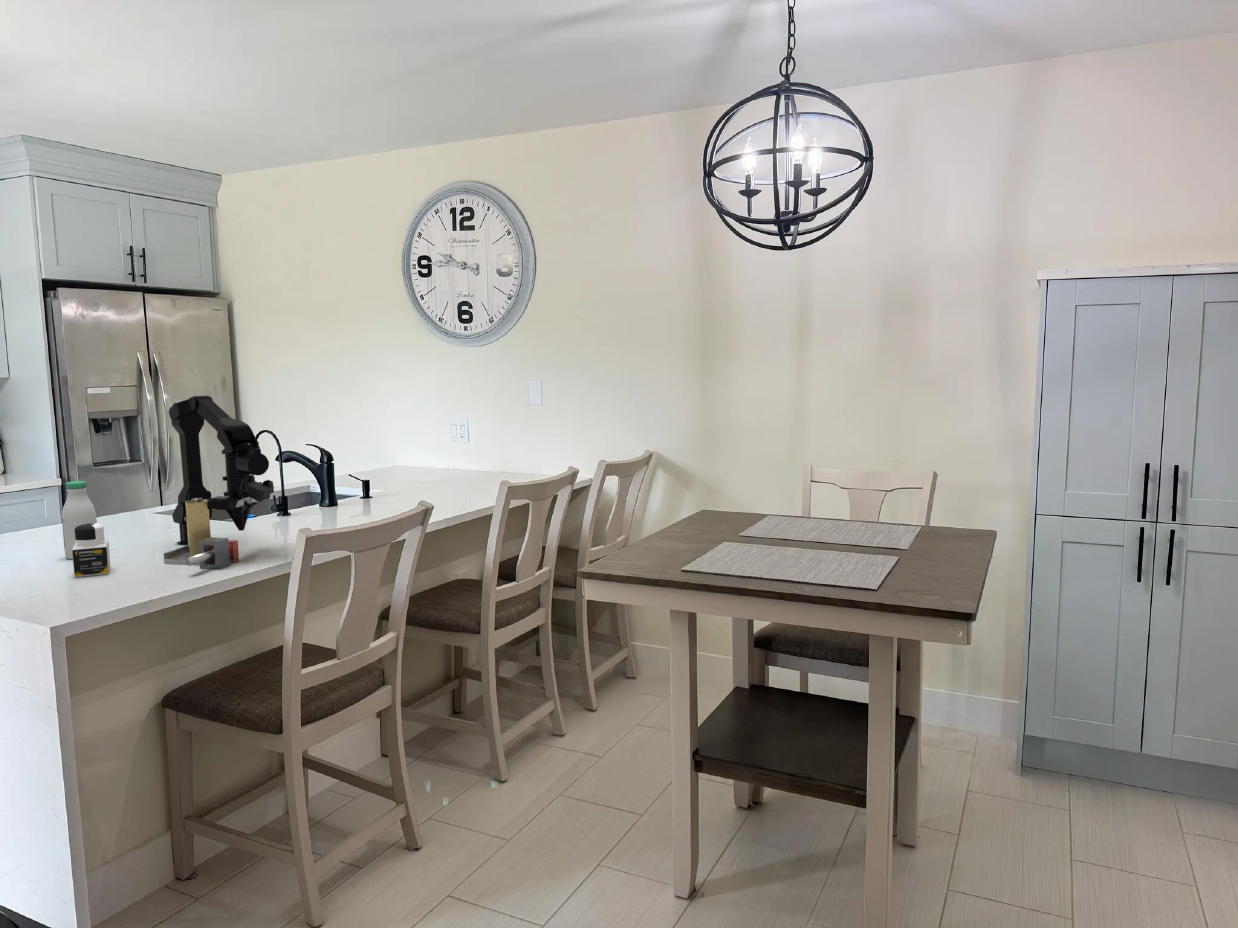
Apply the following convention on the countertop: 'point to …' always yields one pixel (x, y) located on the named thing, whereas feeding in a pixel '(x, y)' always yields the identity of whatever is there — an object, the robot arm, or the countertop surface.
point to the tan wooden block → (197, 523)
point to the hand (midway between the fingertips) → (241, 530)
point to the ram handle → (210, 554)
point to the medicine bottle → (90, 551)
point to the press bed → (177, 556)
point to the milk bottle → (76, 513)
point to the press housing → (215, 552)
